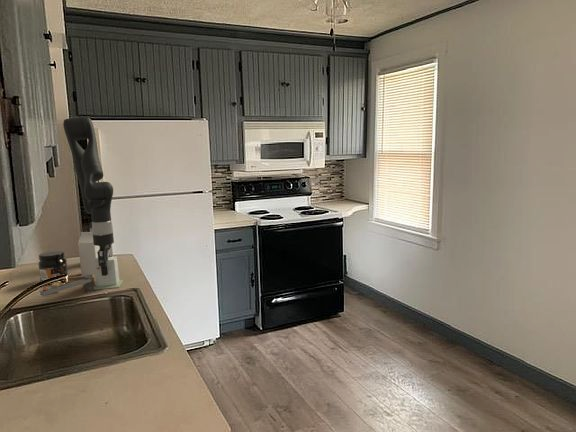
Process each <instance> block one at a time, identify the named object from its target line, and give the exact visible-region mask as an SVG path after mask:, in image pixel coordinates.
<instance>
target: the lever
mask: <svg viewBox="0 0 576 432" xmlns="http://www.w3.org/2000/svg"><path fill="white" fill-rule="evenodd" d="M91 278H93V276H92V275H86V276H85V279H82V280H78V281H75V282H71V283H67V284H64V285H60V286H57V287H53V288H51V287H50V288H49V287H48V286H42V290H40V291H39V293H40V296H43V297H44V296H47V295H50V294H55V293H54V292H58V291H59V292H61V291H65V290H69V289H71V288H75V287H78V286H81V285H85V283H89V282H91V280H90V279H91ZM59 292H58V293H59Z"/></svg>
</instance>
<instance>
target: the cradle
mask: <svg viewBox="0 0 576 432" xmlns="http://www.w3.org/2000/svg"><path fill="white" fill-rule="evenodd" d="M92 276H93V278H91V279H90V280H91V282H89V283H85V284H84V290H85V291H87V293H88V292H93V291H94V289H93V287H94V285H95V284H96V281H95V275H92ZM82 279H85V276H82V275H78V276H68V282H67V283H71V282H75V281H78V280H82ZM67 283H65V284H67ZM50 285H51V286H50V288H53V287H57V286H60V285H64V283H60V282H55V283H53V284H50ZM58 293H60V291H58V292H54V293H53V294H58Z"/></svg>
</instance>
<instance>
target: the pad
mask: <svg viewBox="0 0 576 432" xmlns="http://www.w3.org/2000/svg"><path fill="white" fill-rule="evenodd" d="M122 283H123V279H122V278H121V279H119V282H118V283H117V285H108V286H96V284H95V285H94V286H93V289H94V290H95V291H96V290H107V289H116V288H117V289H119V288H120V286H121V285H122ZM94 290H93V291H94Z"/></svg>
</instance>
